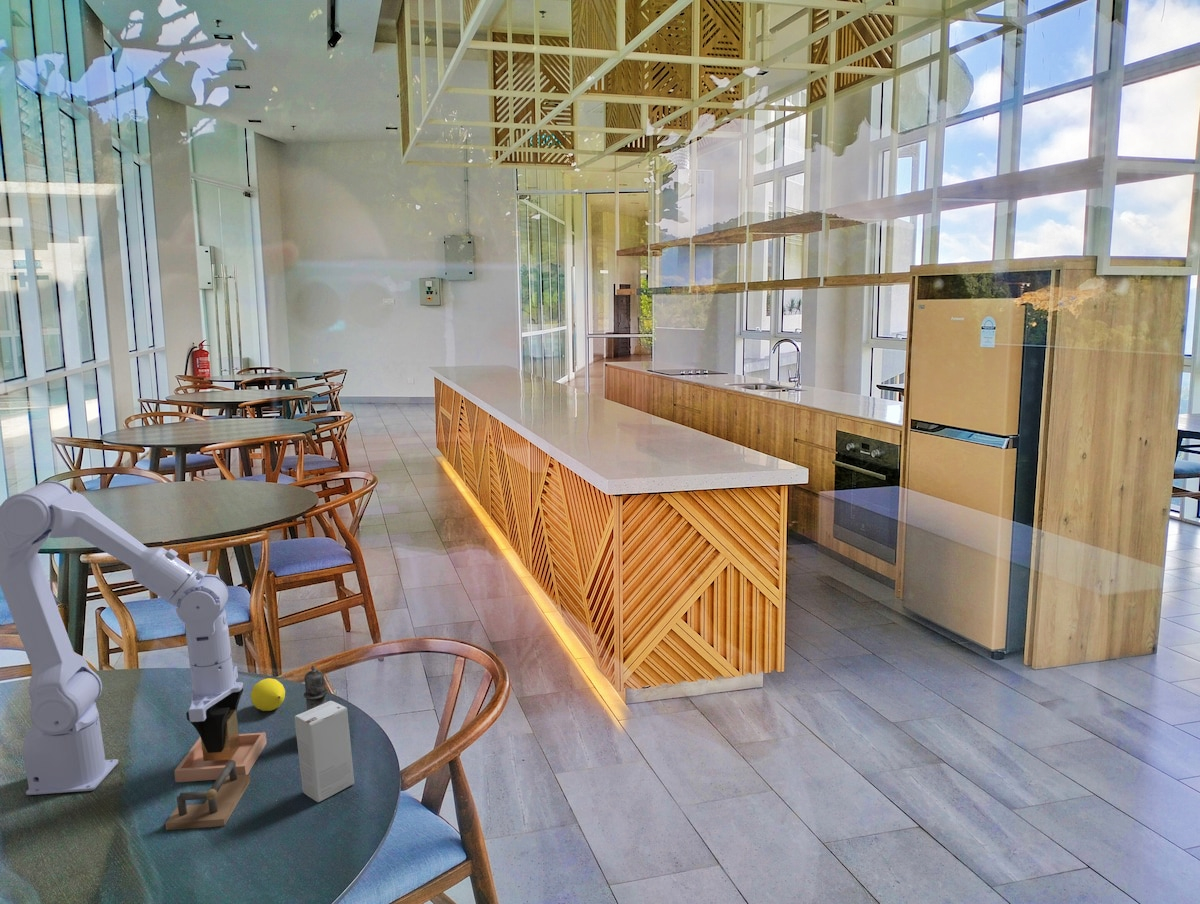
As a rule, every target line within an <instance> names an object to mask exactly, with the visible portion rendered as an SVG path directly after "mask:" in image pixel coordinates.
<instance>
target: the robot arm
mask: <svg viewBox="0 0 1200 904" xmlns="http://www.w3.org/2000/svg"><path fill="white" fill-rule="evenodd" d="M48 538H50V539H63V538H81V539H82V540H84V541H86V542H88V543H89V544H90V545H93V546H95V548H97V549H99V550H101V551H103V552H104V553H107V554H108V555H110V556H111V557H113V558H115V559H116V560H119V561H120V562H121V563H123V564H125V565H127V566H128V567H130V568H131V572H132V573H131V574H132V578H133V580H134V581H135V582H137V583H138V584H140V585H141V586H143V587H144V588H146V589H148V590H149V591H150V592H153V594H155V595H157V596H158V597H159V598H161V599H162V600H164V601H166V602H167V603H169V604H171V606H174V607H177V608H175V611H176V614H177V616H178V617H179V619H180V620H181V622H183V623H184V625H185V637H186V638H185V639H186V644H187V645H186V646H187V653H188V661H189V670H190V677H191V686H192V688H191V695H190V696H191V697H190V699H191V701H190V703H191V704H190V707H189V708H188V710H187V712H186V719H187V721H188V722H189V723H190V724H192V726H193V727H194V729H195V730H196V731H197V733H198V735H199V738H200V737H201V739H202V741H203V744H204V746H205V748H206V750H207V752H208V753H215V752H222V750H223V747H224V728H225V721H226V717H227V714H228V711H229V710H234V709H236V714H238V713H237V712H238V707H239V703H240V699H241V697H242V694H243V692H244V683H243V682H242V681H239V682H238V681H237V679H239V674H238V666H237V665H233V658H232V657H233V656H232V650H231V649H232V648H231V647H232V646H231V641H230V640H231V639H230V638H231V637H230V631H229V625H228V622H227V621H228V620H227V612H226V609H225V608H224V607H225V606H226V605H227V602H228V599H229V596H230V594H229V593H230V591H229V588H228V586H227V584H226V583H225V581H223V580H222V579H221V578H220V577H219V576H218V575H215V574H213V573H212V574H208V573H206V572H204V571H203V570H201V569H200V570H199V571H198V570H197V569H195V568H194V567H192V566H190V565H189V564H188V563H187V562H185V561H183V560H181V559H180V558H179V557H178V555H179V553H178V552H177V551H176V550H174V549H173V548H170V549H169V550H167V549H165V548H164V547H163V546H161V547H160V546H159V547H147V546H146V545H144V544H143V543H142V542H140V541H139V540H138V539H136V537H134V536H133V535H131V533H129V532H127V531H126V530H125V529H124V528H122V527H121V526H120V525H119V524H117V523H116V522H115V521H113V520H112V519H110V518H109V516H107V515H105V514H104V513H102V512H101V511H100V510H99V509H97V508H96V507H95V506H93V505H92V503H91V502H90V501H89V500H88V498H86V496H85V495H83V494H82V493H79V492H77V491H73V490H72V489H71V488H70V487H69V485H66V483H63V482H61V481H56V480H45V481H42V482H40V483H38V484H36V485H35V486H33V487H31V488H29V489H27V490H25V491H22V492H20V493H16V494H14V495H11V496H9V497H7V498H6V499H5V500H4V501H3V502H2V503H1V505H0V589H1V591H2V594H3V596H4V599H5V601H6V604H7V607H8V609H9V612H10V615H11V617H12V620H13V623H14V625H15V628H16V631H17V632H18V636H19V638H20V641H21V643H22V645H23V648H24V652H25V653H26V656H27V659H28V661H29V665H30V667H31V669H32V670H31V674H30V675H31V676H30V679H29V680H30V681H29V684H28V691H27V693H28V695H29V698H30V709H29V717H30V721H31V723H32V724H33V725H32V726H30V728H29V729H28V730H27V732H26V733H25V736H24V739H23V745H22V756H23V761H24V767H25V774H26V780H27V785H28V789H27V790H26V791H25V795H27V796H32V795H34V796H35V795H48V794H62V793H75V792H89V791H94V790H95V789H96V788H97V787H98V786H99V785H100V784H101V783H102V782H103V780H104V779H106V778H107V776H108V775H109V774H110V773H111V771H113V769H114V768H115V767H116V766H117V765H118V764H119V759H117V758H116V759H114V758H113V759H106V756H105V748H104V742H103V735H102V733H103V732H102V727H101V719H100V713H99V710H98V709H97V708H98V707H97V703H96V701H98V699H99V698H100V696H101V694H102V690H103V683H102V679H101V678H100V676H99V675H98V674H97V673H96V672H95V671H93V669H92V668H90V666H89V664H88V662H87V658H86V657H84V656H82V655H80V654H78V653H77V652H75V651H74V648H73V645H72V642H71V641H70V638H69V635H68V632H67V629H66V627H65V624H64V621H63V619H62V616H61V613H60V610H59V608H58V605H57V603H56V600H55V596H54V593H53V592H52V589H51V586H50V584H49V580H48V578H47V575H46V573H45V570H44V567H43V565H42V562H41V559H40V556H39V554H38V553H39V551H40V550H41V548H42V546H43V545H44V544H45V542H46V541H47V539H48Z"/></svg>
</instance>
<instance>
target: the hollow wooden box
mask: <svg viewBox="0 0 1200 904" xmlns="http://www.w3.org/2000/svg"><path fill="white" fill-rule="evenodd" d="M237 714H238V713H236V709H234V710H229V711H228V714H227V717H226V721H225V728H224V747H223V750H222V752H215V753H208V752H207V750H206V748H205V746H204V744H203V741H202V739H201V744H202V752H203V760H204V761H214V760H228V759H232V757H233V756H234V754H235V753H236V751H237V750H238V748H239V747H240V740H239V734H240V733H239V724H238V723H239V722H238V715H237Z"/></svg>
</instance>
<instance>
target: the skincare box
mask: <svg viewBox="0 0 1200 904" xmlns="http://www.w3.org/2000/svg"><path fill="white" fill-rule="evenodd" d="M348 714H349V713H348V708H347V707H346V706H344V705H343V704H339V703H338V702H336V701H333V700H329V701H327V702H326V703H324V704H322V705H319V706H317V707H315V708H312V709H310V710H308V711H303V712H301V713H298V714H297V715H295V716H294V726H295V734H296V743H297V750H298V753H297V754H298V761H299V771H300V778H301V779H300V780H301V790H302V793H304V795H306V796H307V797H308V798H310V799H312V800H313V801H315V802H316V803H321V802H323V801H324V800H326V799H328V798H330V797H332V796H333V795H336V794H338V793H339V792H342V791H343V790H345V789H347V788H349V787H351V786H353V785H354V784H355V777H354V776H355V775H354V767H353V757H352V746H351V735H350V726H349V725H350V724H349V717H348V716H349V715H348Z"/></svg>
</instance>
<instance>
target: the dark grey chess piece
mask: <svg viewBox="0 0 1200 904" xmlns="http://www.w3.org/2000/svg"><path fill="white" fill-rule="evenodd" d="M310 669H311V670H310V671H308V672H307V673H305V676H304V686H305V687H304V688H305V692H304V693H303V697H304V698H305V702H306V709H305V710H306V711H308V710H310V709H312V708H315V707H317V706H319V705H322V704H324V703H326V702H328V701H327V694H328V689H326V688H325V677H324V673H323V672H322V671H321V670H318V669H316V667H315V666H314V665H312V666H311V668H310Z"/></svg>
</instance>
